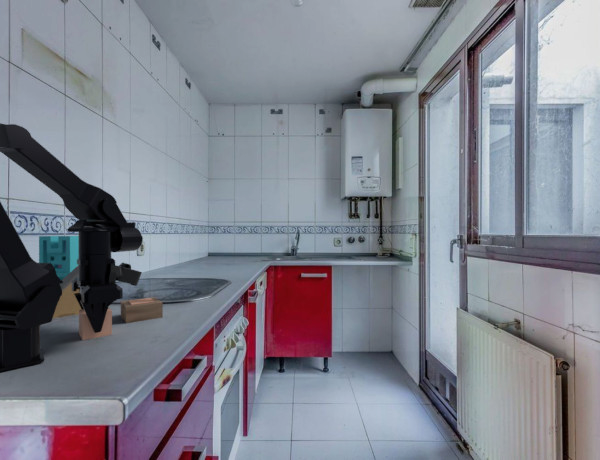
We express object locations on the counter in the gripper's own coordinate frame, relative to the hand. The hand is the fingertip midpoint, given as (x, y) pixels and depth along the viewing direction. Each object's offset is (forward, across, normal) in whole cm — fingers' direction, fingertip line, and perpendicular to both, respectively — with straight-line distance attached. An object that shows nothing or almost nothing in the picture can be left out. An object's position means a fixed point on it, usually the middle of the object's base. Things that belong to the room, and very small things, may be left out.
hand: (95, 329), depth 65 cm
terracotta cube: (+1, 0, 0) cm, 1 cm away
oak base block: (+1, +8, -11) cm, 14 cm away
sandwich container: (+1, +26, +4) cm, 26 cm away
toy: (+1, +39, +2) cm, 39 cm away
